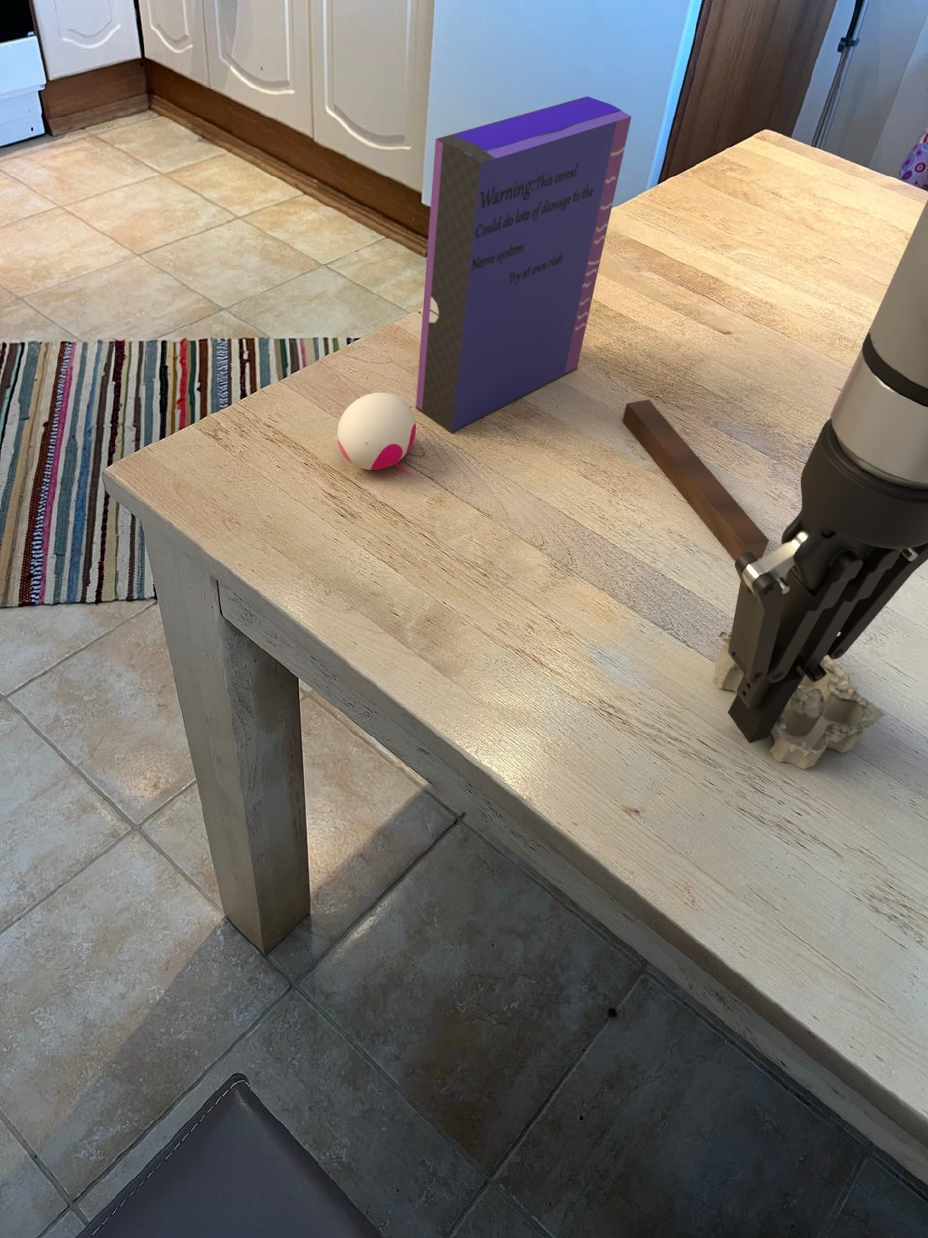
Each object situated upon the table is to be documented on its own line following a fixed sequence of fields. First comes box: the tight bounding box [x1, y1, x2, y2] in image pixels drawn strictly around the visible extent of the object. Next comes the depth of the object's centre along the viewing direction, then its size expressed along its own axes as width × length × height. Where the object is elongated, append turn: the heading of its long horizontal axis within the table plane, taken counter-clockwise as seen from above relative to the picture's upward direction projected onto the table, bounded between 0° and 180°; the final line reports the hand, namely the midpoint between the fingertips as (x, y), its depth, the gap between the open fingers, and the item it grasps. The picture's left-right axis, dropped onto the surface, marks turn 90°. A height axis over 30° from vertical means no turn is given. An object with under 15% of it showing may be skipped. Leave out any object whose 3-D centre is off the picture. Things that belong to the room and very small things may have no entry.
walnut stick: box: [622, 399, 770, 562], centre depth 83 cm, size 20×2×2 cm, turn 22°
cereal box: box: [415, 95, 632, 434], centre depth 82 cm, size 17×5×24 cm, turn 134°
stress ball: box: [336, 392, 417, 475], centre depth 80 cm, size 8×8×7 cm
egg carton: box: [713, 631, 884, 770], centre depth 66 cm, size 11×8×4 cm
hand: (747, 724), depth 64 cm, fingers closed
